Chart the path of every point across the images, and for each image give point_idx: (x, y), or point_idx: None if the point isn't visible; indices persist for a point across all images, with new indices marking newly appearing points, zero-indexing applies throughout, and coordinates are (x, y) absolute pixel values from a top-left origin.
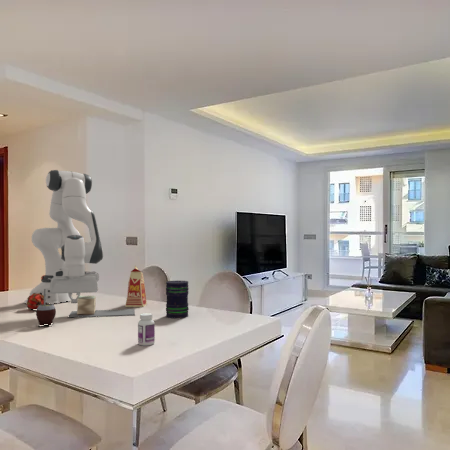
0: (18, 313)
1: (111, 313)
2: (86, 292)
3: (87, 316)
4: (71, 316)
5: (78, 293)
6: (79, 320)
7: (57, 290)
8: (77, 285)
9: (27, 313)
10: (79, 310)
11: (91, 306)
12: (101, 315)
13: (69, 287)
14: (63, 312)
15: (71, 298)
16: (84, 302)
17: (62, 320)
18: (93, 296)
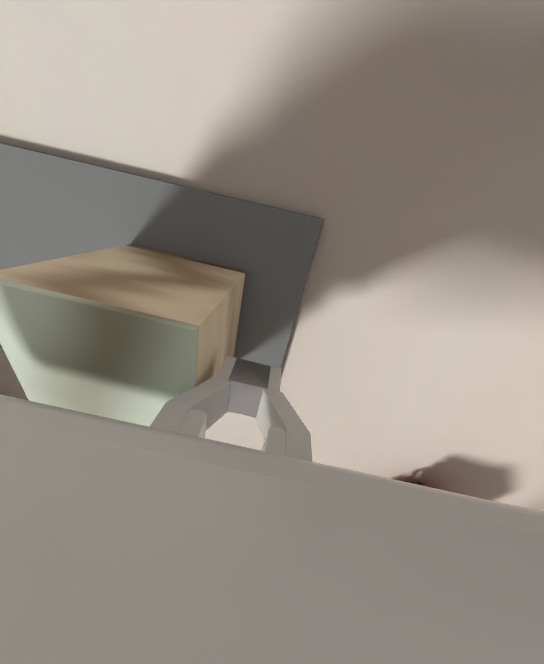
0: (511, 469)
1: (9, 231)
2: (26, 400)
3: (169, 183)
4: (291, 236)
5: (168, 428)
6: (235, 15)
7: (531, 560)
8: (53, 646)
9: (476, 455)
10: (222, 276)
11: (102, 261)
12: (59, 170)
13: (306, 601)
14: (312, 411)
15: (274, 397)
16: (142, 287)
17: (386, 110)
18: (40, 390)
